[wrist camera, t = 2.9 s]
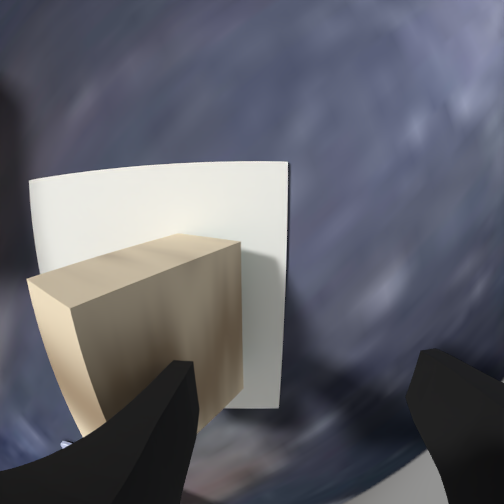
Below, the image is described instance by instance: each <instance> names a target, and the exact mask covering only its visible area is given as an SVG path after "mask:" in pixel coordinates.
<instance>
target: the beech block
mask: <svg viewBox="0 0 504 504" xmlns="http://www.w3.org/2000/svg"><path fill="white" fill-rule="evenodd" d="M27 283H28V287H29V292H30V296H31V300H32V304H33V308H34V312H35V315H36V319H37V323H38V326H39V329H40V333H41V336H42V339H43V342H44V345H45V348H46V351H47V354H48V357H49V360H50V363H51V366H52V368H53V371H54V374H55V376H56V379H57V381H58V384H59V386H60V389H61V391H62V393H63V396H64V398H65V400H66V403H67V405H68V407H69V409H70V411H71V414H72V416H73V418H74V420H75V422H76V424H77V426H78V428H79V430H80V432H81V434H82V436H83V437H85V436H86V435H88V434H89V433H91V432H93V431H94V430H96V429H97V428H99V427H100V426H101V425H103V424H104V423H105V422H107V421H108V420H109V419H111V418H112V417H113V416H114V415H116V414H117V413H118V412H119V411H120V410H122V409H123V408H124V407H125V406H126V405H128V404H129V403H130V402H131V401H132V400H133V399H134V398H135V397H136V396H137V395H138V394H140V393H141V392H142V391H143V390H144V389H145V388H146V387H147V386H148V385H149V384H150V383H151V382H152V381H153V380H154V379H155V378H156V377H157V376H158V375H159V374H160V373H161V372H162V371H163V370H164V369H165V368H166V367H167V366H168V365H169V364H170V363H171V362H172V361H173V360H180V361H193V363H194V371H195V379H196V387H197V394H198V401H199V408H200V411H199V420H198V428H197V433H198V432H200V431H201V430H202V429H203V428H204V427H205V426H206V425H207V424H208V423H209V422H210V421H211V420H212V419H213V418H214V417H215V416H216V415H217V414H218V413H219V412H220V411H221V410H223V409H224V408H225V407H226V406H227V405H228V404H229V403H230V402H231V401H232V400H233V399H234V398H235V397H236V396H237V395H238V394H239V393H240V392H241V391H242V390H243V389H244V387H243V342H242V285H241V241H234V240H226V239H219V238H211V237H203V236H196V235H188V234H180V233H177V234H174V235H170V236H167V237H163V238H159V239H156V240H152V241H149V242H145V243H142V244H138V245H135V246H131V247H128V248H124V249H121V250H117V251H114V252H111V253H107V254H104V255H101V256H97V257H94V258H91V259H87V260H84V261H81V262H78V263H74V264H71V265H68V266H65V267H62V268H59V269H55V270H52V271H49V272H46V273H43V274H40V275H37V276H34V277H31V278H28V279H27Z"/></svg>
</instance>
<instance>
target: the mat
mask: <svg viewBox="0 0 504 504" xmlns="http://www.w3.org/2000/svg"><path fill="white" fill-rule="evenodd" d="M29 190H30V204H31V215H32V224H33V232H34V240H35V247H36V253H37V259H38V265H39V270H40V274H43V273H46V272H49V271H52V270H55V269H59V268H62V267H65V266H68V265H71V264H74V263H78V262H81V261H84V260H87V259H91V258H94V257H97V256H101V255H104V254H107V253H111V252H114V251H117V250H121V249H124V248H128V247H131V246H135V245H138V244H142V243H145V242H149V241H152V240H156V239H159V238H163V237H167V236H170V235H174V234H177V233H180V234H188V235H196V236H203V237H211V238H219V239H226V240H234V241H241V285H242V342H243V387H244V389H243V390H242V391H241V392H240V393H239V394H238V395H237V396H236V397H235V398H234V399H233V400H232V401H231V402H230V403H229V404H228V405H227V406H226V407H225V408H241V409H265V408H279V398H280V383H281V367H282V349H283V330H284V308H285V283H286V251H287V204H288V162H273V161H239V162H199V163H178V164H162V165H148V166H135V167H124V168H114V169H105V170H96V171H88V172H80V173H72V174H65V175H58V176H52V177H45V178H39V179H33V180H29Z"/></svg>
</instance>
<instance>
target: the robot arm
mask: <svg viewBox="0 0 504 504" xmlns="http://www.w3.org/2000/svg"><path fill="white" fill-rule="evenodd" d="M405 398H406V401H407V404H408V407H409V410H410V413H411V415H412V418H413V421H414V423H415V425H416V427H417V429H418V431H419V433H420V435H421V437H422V439H423V441H424V443H425V445H426V447H427V449H428V451H429V453H430V455H431V456H432V459H433V460H434V463H435V464H436V467H437V469H438V471H439V474H440V476H441V479H442V482H443V485H444V488H445V491H446V495H447V498H448V503H449V504H504V383H502V382H500V381H498V380H496V379H494V378H492V377H490V376H488V375H486V374H484V373H483V372H481V371H479V370H477V369H475V368H473V367H471V366H470V365H468V364H466V363H464V362H462V361H460V360H459V359H457V358H455V357H453V356H451V355H449V354H447V353H445V352H443V351H440V350H438V349H428V350H422V351H420V355H419V358H418V361H417V365H416V368H415V371H414V374H413V377H412V380H411V383H410V386H409V389H408V392H407V394H406V397H405ZM199 411H200V408H199V401H198V394H197V387H196V379H195V371H194V363H193V361H180V360H173V361H172V362H171V363H170V364H169V365H168V366H167V367H166V368H165V369H164V370H163V371H162V372H161V373H160V374H159V375H158V376H157V377H156V378H155V379H154V380H153V381H152V382H151V383H150V384H149V385H148V386H147V387H146V388H145V389H144V390H143V391H142V392H141V393H140V394H138V395H137V396H136V397H135V398H134V399H133V400H132V401H131V402H130V403H129V404H128V405H126V406H125V407H124V408H123V409H122V410H120V411H119V412H118V413H117V414H116V415H114V416H113V417H112V418H111V419H109V420H108V421H107V422H105V423H104V424H103V425H101V426H100V427H99V428H97V429H96V430H94V431H93V432H91V433H89V434H88V435H86V436H85V437H83V438H81V439H80V440H78V441H76V442H74V443H70V442H66V441H62V443H61V447H62V448H63V449H61V450H59V451H57V452H55V453H53V454H51V455H49V456H46V457H44V458H41V459H39V460H36V461H34V462H31V463H28V464H25V465H22V466H19V467H16V468H12V469H8V470H4V471H0V504H180V500H181V495H182V490H183V487H184V483H185V479H186V475H187V471H188V467H189V464H190V460H191V456H192V452H193V448H194V444H195V440H196V436H197V428H198V420H199Z"/></svg>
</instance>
